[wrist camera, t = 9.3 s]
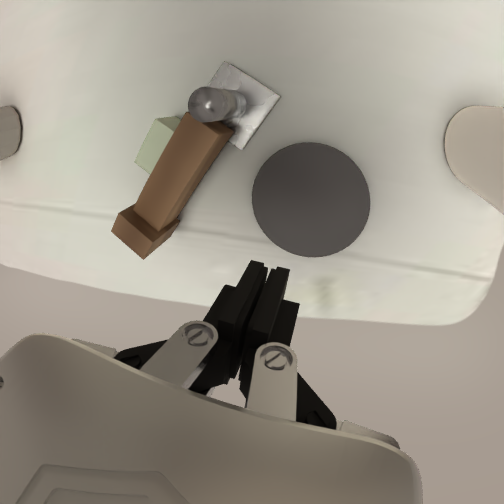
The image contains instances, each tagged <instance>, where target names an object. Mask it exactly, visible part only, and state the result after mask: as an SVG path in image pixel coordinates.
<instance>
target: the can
mask: <svg viewBox="0 0 504 504" xmlns="http://www.w3.org/2000/svg"><path fill="white" fill-rule="evenodd" d="M445 153H446V158H447V161H448V164H449V166H450V168H451V170H452V172H453V173H454V175H455V176H456V177H457V178H458V179H459V180H460V181H461V182H462V183H463V184H464V185H466V186H467V187H468V188H470V189H471V190H472V191H474V192H475V193H476V194H478V195H479V196H480V197H482V198H483V199H484V200H486V201H487V202H488V203H490V204H491V205H492V206H493V207H495V208H496V209H497V210H498V211H500V212H501V213H502V214H503V215H504V107H494V106H470V107H466V108H464V109H462V110H460V111H459V112H458V113H457V114H455V116H454V117H453V118H452V119H451V121H450V123H449V125H448V128H447V131H446V135H445Z"/></svg>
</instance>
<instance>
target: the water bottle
mask: <svg viewBox="0 0 504 504" xmlns="http://www.w3.org/2000/svg"><path fill="white" fill-rule="evenodd" d="M20 135H21V125H20V120H19V116H18V114H17V112H16V111H15V109H14V108H12V107H7V106H6V107H1V108H0V160H2V159H5V158H8V157H10V156H11V155H12V154H13V153H15V152H16V150H17V148H18V145H19V142H20Z"/></svg>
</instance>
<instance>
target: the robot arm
mask: <svg viewBox="0 0 504 504" xmlns="http://www.w3.org/2000/svg"><path fill="white" fill-rule="evenodd" d="M267 272H268V268H267V267H264V263H261V262H257V261H253V260H251V261H250V263H249V265H248V267H247V268H246V270H245V272H244V274H243V276H242V277H241V279H240V281H239V283H238V285H237V286H236V287H233V286H230V285H225V286H224V287H223V289H222V290H221V292H220V294H219V295H218V297H217V298H216V300H215V302H214V303H213V305H212V307H211V308H210V310H209V312H208V313H207V315H206V316H205V318H204V320H203V321H190V322H188V323H185V324H184V325H182V326H181V327H180V328H179V329H178V330H177V331H176V332H175V333H174V334H173V335H172V336H171V338H169V339H168V340H164V341H159V342H156V343H151V344H147V345H143V346H138V347H134V348H129V349H126V350H123V351H120V352H117V351H116V349H115V348H110V347H106V346H102V345H98V344H94V343H90V342H86V341H82V340H78V339H68V338H65V337H61V336H58V335H52V334H45V333H38V334H32V335H29V336H27V337H25V338H23V339H21V340H20V341H19V342H17V343H16V344H15V345H14V346H13V347H12V348H10V349H9V350H8V351H7V352H6V353H5V354H4V355H3V356H2V357H1V358H0V504H423V497H422V496H423V494H422V482H421V476H420V473H419V469H418V467H417V465H416V463H415V461H414V460H413V459H412V458H411V457H409V456H408V455H407V454H406V453H404V452H403V451H401V450H400V447H399V444H398V442H397V441H396V440H395V439H394V438H392V437H390V436H388V435H385V434H383V433H380V432H376V431H374V430H371V429H368V428H365V427H363V426H360V425H357V424H355V423H352V422H349V421H347V420H344V421H343V422H342V421H339V420H337V419H336V418H335V416H334V415H333V413H332V412H331V411H330V410H329V408H328V407H327V406H326V405H325V404H324V403H323V401H322V400H321V399H320V398H319V397H318V396H317V394H316V393H315V392H314V391H313V390H312V389H311V387H310V386H309V385H308V384H307V383H306V381H305V380H304V379H303V378H302V377H301V376H300V374H299V373H298V372H297V356H296V354H295V353H294V351H293V350H292V349H291V348H290V343H291V339H292V335H293V330H294V326H295V322H296V318H297V314H298V309H299V305H300V304H299V303H295V302H291V301H287V300H283V298H284V294H285V290H286V285H287V281H288V276H289V272H290V269H286V268H282V267H277V269H271V271H270V274H269V276H268V278H267V281H266V277H267ZM240 365H241V366H240ZM239 367H240V373H239V379H238V380H239V381H241V382H240V388H239V389H240V390H241V392H242V393H243V395H244V397H245V398H246V402H245V407H244V408H242V407H239V406H236V405H232V404H229V403H226V402H223V401H220V400H217V399H214V398H211V397H210V396H211V395H212V393H213V391H214V389H215V386H219V385H221V384H226V385H227V384H228V381H229V379H230V378H233V379H234V378H235V377H236V375H237V372H238V370H239Z"/></svg>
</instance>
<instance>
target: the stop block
mask: <svg viewBox="0 0 504 504" xmlns="http://www.w3.org/2000/svg"><path fill="white" fill-rule="evenodd" d="M180 121H181V120H180V119H179V118H177V117H176V116H173V117H165V118H157V119H155V121H154V122H153V124H152V126H151V128H150V130H149V132H148V134H147V136H146V138H145V140H144V142H143V144H142V146H141V149H140V151H139V153H138V155H137V157H136V159H135V161H134V162H135V163H136V164H137V165H139V166H140V167H141V168H142V169H144V170H145V171H146V172H148V173H149V174H150V175H151V173H152V171H153V169H154V167H155V165H156V163H157V161H158V160H159V158H160V156H161V154H162V152H163V151H164V149H165V147H166V145H167V143H168V142H169V140H170V138H171V136H172V135H173V133H174V131H175V130H176V128H177V126H178V125H179V123H180Z"/></svg>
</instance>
